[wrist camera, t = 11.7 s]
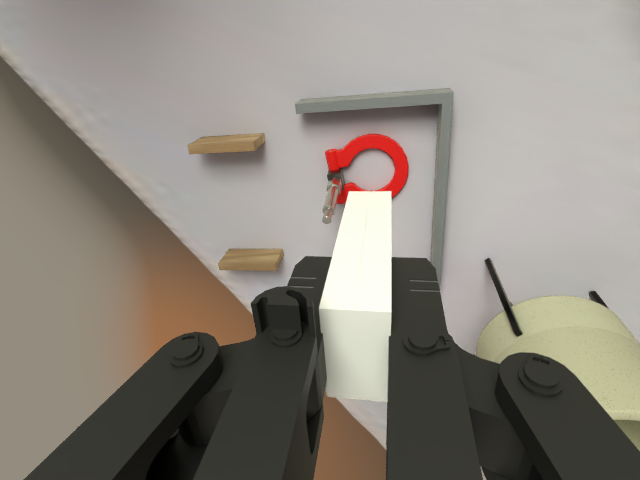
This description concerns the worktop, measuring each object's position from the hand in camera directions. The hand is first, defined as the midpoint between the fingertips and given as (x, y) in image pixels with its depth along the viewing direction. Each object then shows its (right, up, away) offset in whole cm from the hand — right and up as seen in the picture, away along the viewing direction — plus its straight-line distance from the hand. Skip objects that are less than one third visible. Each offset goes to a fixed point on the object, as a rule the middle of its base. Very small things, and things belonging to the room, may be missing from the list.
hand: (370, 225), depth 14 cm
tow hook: (+4, +8, +32) cm, 33 cm away
